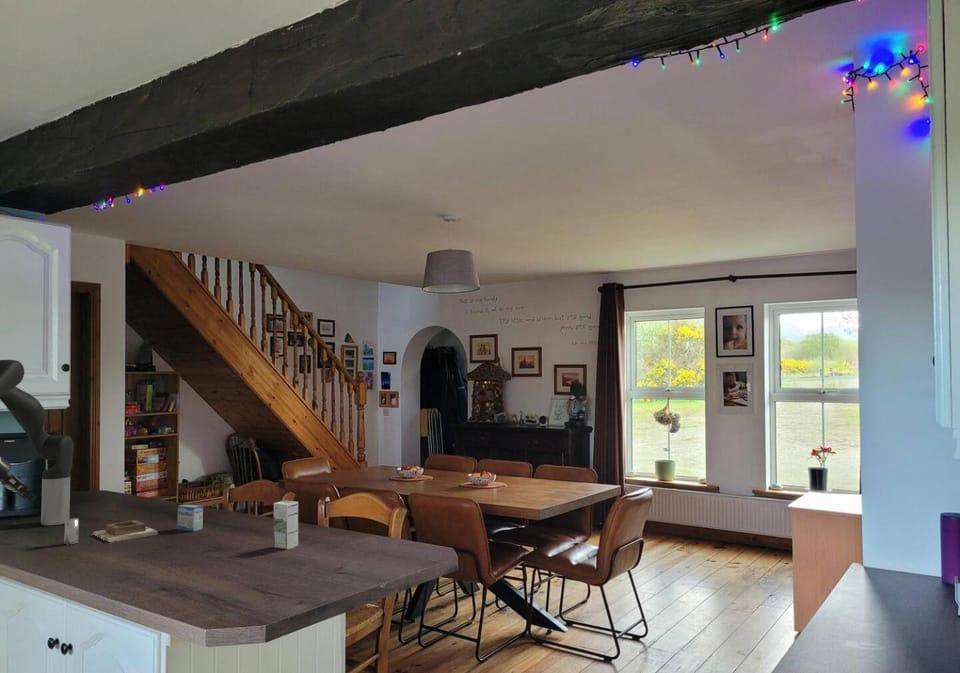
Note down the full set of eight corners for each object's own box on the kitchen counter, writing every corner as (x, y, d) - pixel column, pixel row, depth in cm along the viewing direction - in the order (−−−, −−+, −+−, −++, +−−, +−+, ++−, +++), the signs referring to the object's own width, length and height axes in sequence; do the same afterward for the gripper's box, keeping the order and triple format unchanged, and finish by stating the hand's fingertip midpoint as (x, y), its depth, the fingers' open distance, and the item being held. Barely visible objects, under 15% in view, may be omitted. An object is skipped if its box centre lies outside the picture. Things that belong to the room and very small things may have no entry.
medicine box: (176, 530, 250) (177, 506, 251) (186, 527, 255) (186, 503, 255) (193, 531, 247) (194, 507, 248) (203, 529, 252) (203, 505, 252)
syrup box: (298, 545, 226) (299, 501, 227) (286, 550, 220) (286, 504, 221) (285, 544, 228) (285, 499, 229) (272, 548, 223) (273, 502, 224)
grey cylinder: (62, 543, 231) (63, 519, 232) (76, 541, 234) (76, 517, 235) (66, 545, 228) (67, 521, 229) (79, 543, 231) (80, 519, 232)
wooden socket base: (92, 535, 243) (93, 524, 243) (140, 527, 255) (140, 517, 255) (108, 542, 232) (108, 531, 232) (157, 534, 244) (157, 523, 244)
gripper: (5, 457, 213) (46, 491, 221) (-6, 454, 223) (34, 486, 231) (-16, 476, 209) (26, 510, 217) (-26, 473, 219) (15, 505, 227)
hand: (30, 498), depth 224 cm, fingers open, 8 cm apart
